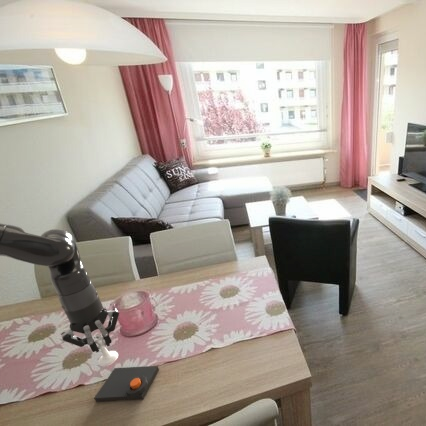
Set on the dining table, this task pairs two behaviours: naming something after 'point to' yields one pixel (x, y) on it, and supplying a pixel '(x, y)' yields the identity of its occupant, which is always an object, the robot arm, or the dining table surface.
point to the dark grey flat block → (126, 384)
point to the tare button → (135, 383)
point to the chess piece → (105, 352)
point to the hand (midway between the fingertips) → (102, 347)
